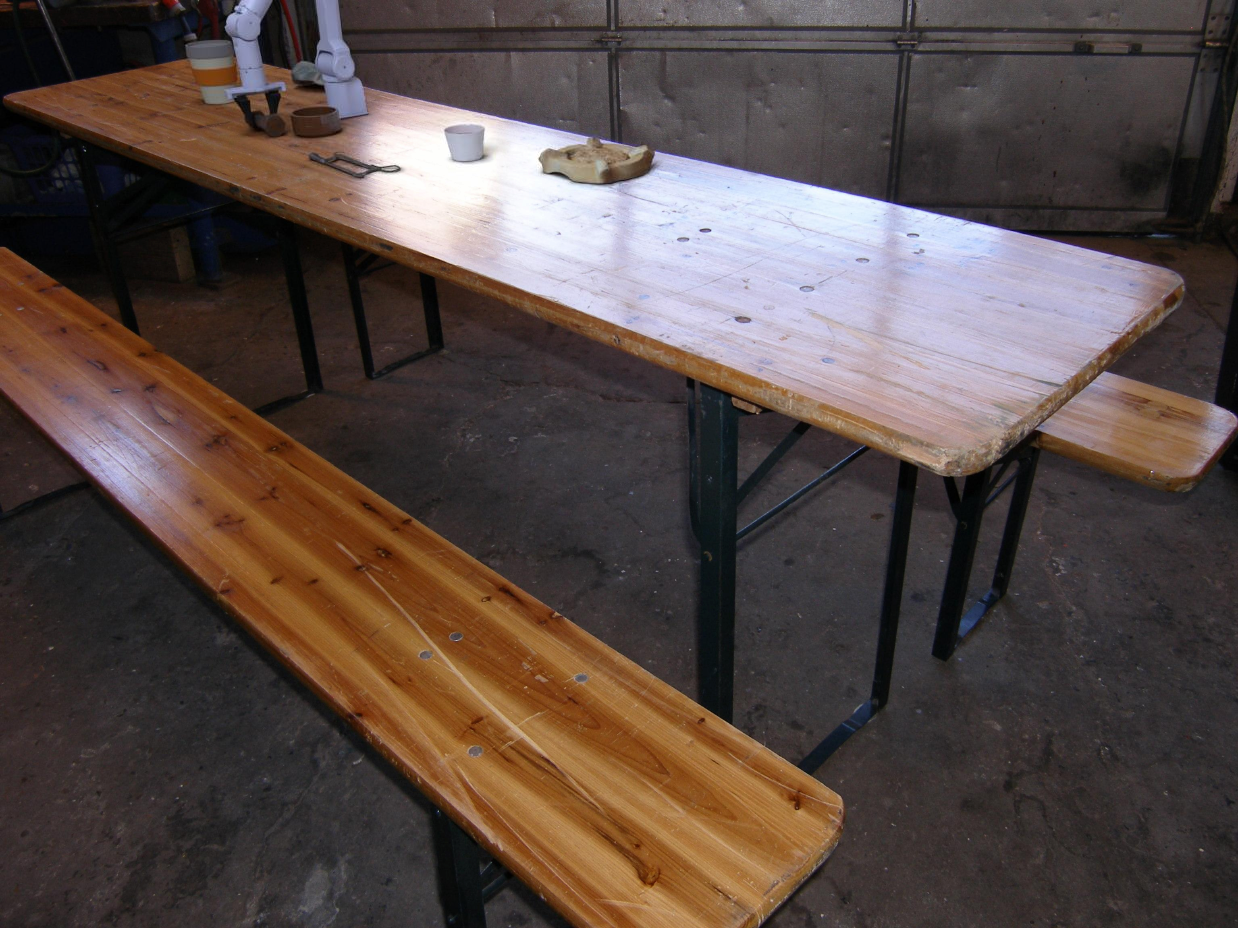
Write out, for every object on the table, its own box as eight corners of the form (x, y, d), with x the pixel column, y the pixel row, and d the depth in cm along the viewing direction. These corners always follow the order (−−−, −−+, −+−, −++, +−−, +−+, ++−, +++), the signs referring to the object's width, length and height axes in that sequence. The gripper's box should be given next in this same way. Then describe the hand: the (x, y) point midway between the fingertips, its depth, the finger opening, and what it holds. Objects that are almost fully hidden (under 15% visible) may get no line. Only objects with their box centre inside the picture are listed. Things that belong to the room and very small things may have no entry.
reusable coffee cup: (253, 98, 276) (241, 42, 268) (217, 107, 267) (204, 49, 259) (225, 94, 282) (212, 39, 274) (188, 102, 273) (174, 45, 265)
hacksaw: (306, 159, 220) (305, 153, 219) (346, 150, 226) (345, 144, 225) (363, 180, 205) (361, 173, 204) (404, 170, 211) (403, 163, 210)
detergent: (285, 87, 287) (333, 97, 272) (282, 62, 284) (330, 69, 269) (324, 84, 296) (372, 93, 281) (321, 59, 292) (369, 66, 278)
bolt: (256, 133, 249) (281, 141, 239) (237, 125, 245) (262, 134, 235) (262, 110, 248) (288, 118, 238) (243, 103, 244) (269, 110, 234)
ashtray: (571, 192, 195) (570, 167, 192) (526, 164, 213) (524, 141, 210) (673, 174, 204) (673, 150, 201) (621, 149, 222) (620, 127, 219)
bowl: (330, 124, 248) (326, 104, 245) (349, 132, 240) (345, 112, 237) (286, 131, 242) (282, 111, 240) (304, 140, 234) (300, 119, 232)
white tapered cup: (471, 150, 224) (468, 122, 220) (495, 157, 218) (492, 128, 215) (439, 158, 218) (435, 129, 215) (463, 165, 213) (460, 136, 210)
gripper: (226, 73, 228) (239, 132, 236) (285, 65, 236) (296, 123, 243) (216, 69, 233) (230, 127, 241) (275, 61, 240) (286, 118, 248)
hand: (263, 125), depth 242 cm, fingers closed on bolt, 5 cm apart
